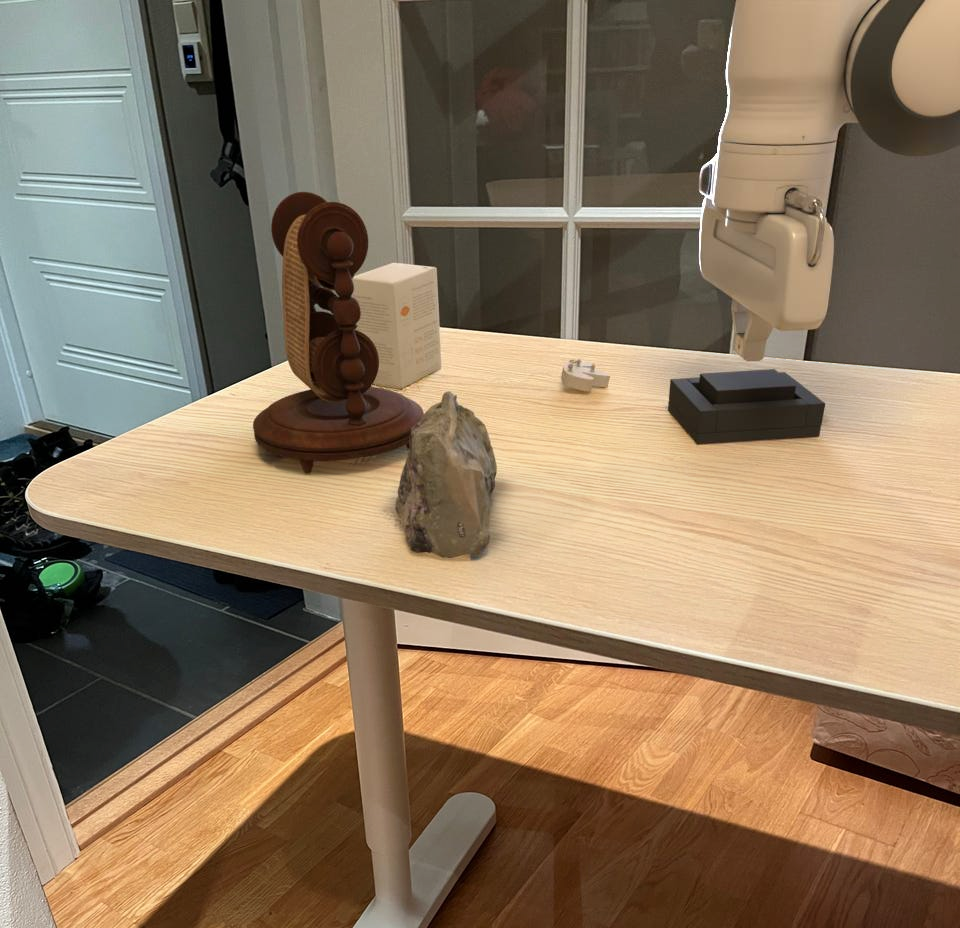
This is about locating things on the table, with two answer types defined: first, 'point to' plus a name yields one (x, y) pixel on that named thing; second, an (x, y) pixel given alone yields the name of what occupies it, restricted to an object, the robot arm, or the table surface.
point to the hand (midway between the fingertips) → (747, 356)
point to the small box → (400, 321)
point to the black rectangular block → (745, 386)
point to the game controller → (581, 375)
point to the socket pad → (744, 415)
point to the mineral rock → (447, 482)
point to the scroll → (328, 344)
